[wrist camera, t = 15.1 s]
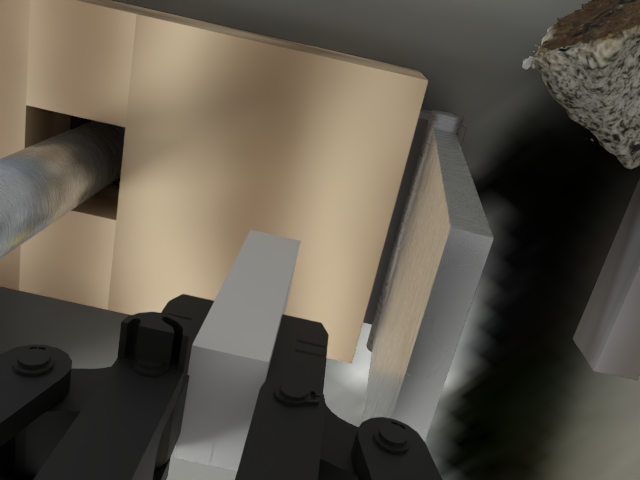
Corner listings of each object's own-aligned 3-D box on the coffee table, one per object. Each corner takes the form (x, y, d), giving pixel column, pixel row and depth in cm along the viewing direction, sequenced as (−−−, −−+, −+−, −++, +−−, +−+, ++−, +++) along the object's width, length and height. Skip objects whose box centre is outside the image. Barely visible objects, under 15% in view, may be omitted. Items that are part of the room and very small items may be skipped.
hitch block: (9, 243, 30) (-42, 277, 26) (17, -22, 25) (-43, -27, 22) (601, 373, 30) (635, 425, 26) (707, 135, 26) (766, 157, 22)
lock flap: (367, 337, 26) (328, 590, 15) (431, 108, 23) (447, 198, 11) (394, 344, 26) (378, 605, 15) (462, 115, 23) (513, 215, 11)
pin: (81, 166, 28) (-163, 304, 15) (85, 110, 27) (-172, 203, 14) (137, 179, 28) (-57, 326, 15) (143, 123, 27) (-59, 228, 14)
